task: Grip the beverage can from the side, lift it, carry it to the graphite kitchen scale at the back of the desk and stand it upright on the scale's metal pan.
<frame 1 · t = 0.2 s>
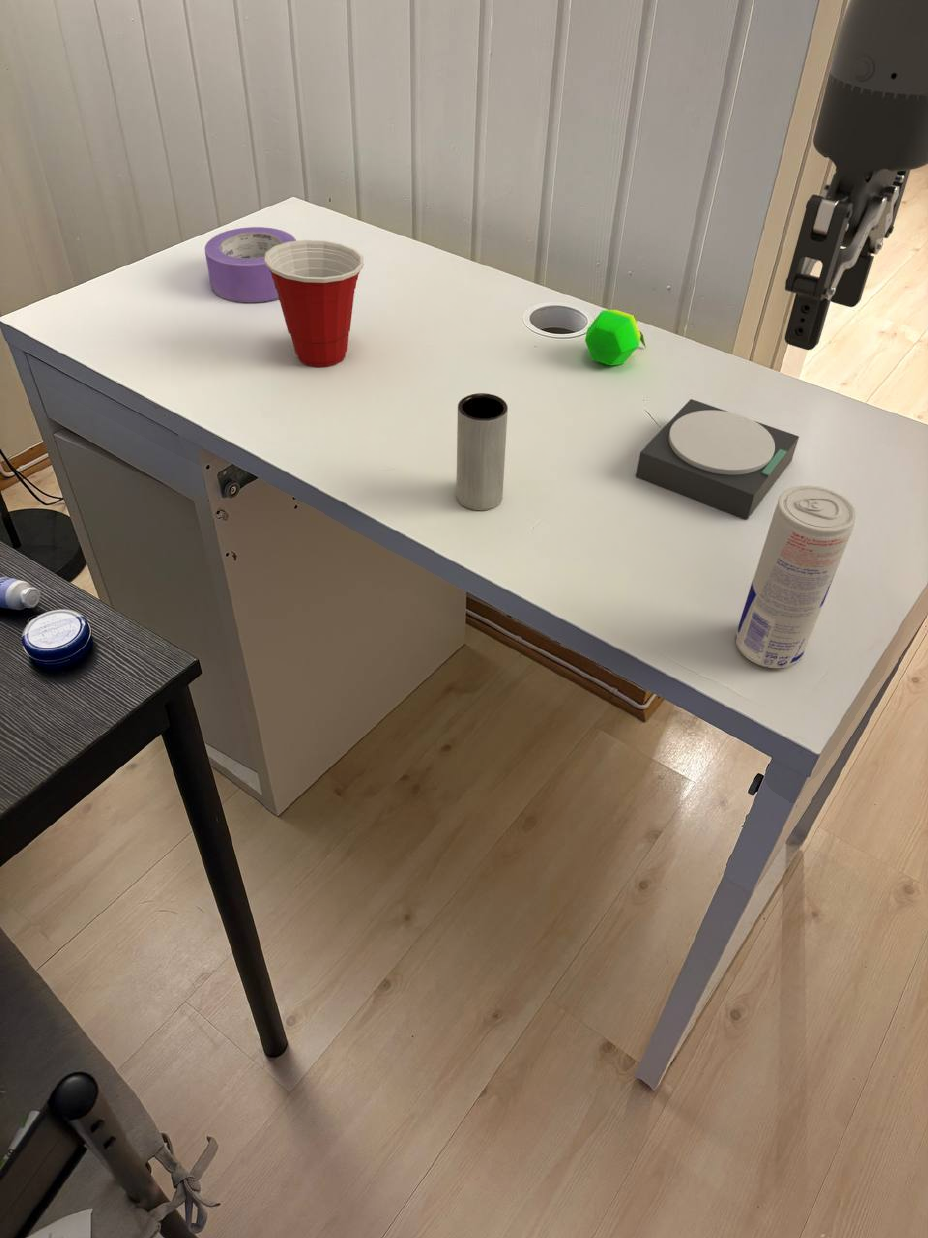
hand: (822, 323, 69), 25 cm above the table, tool pointing down, fingers open, 8 cm apart
grey cylindrical tube: (479, 498, 94), on the table
plastic cup: (323, 355, 113), on the table
tape roll: (256, 283, 125), on the table
apple: (613, 357, 114), on the table
beverage can: (767, 649, 80), on the table
scale: (714, 468, 98), on the table
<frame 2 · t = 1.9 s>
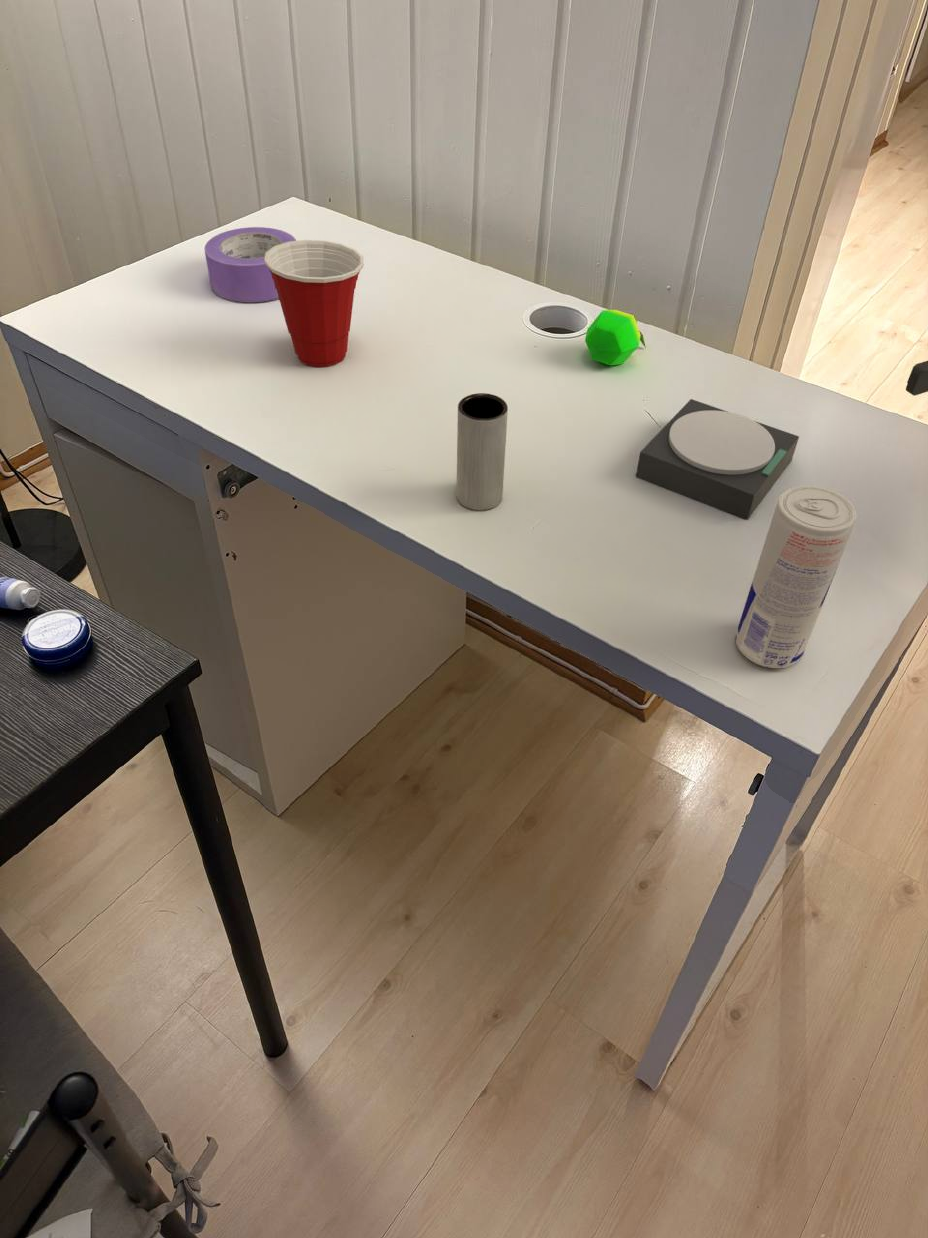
nothing on the table moved.
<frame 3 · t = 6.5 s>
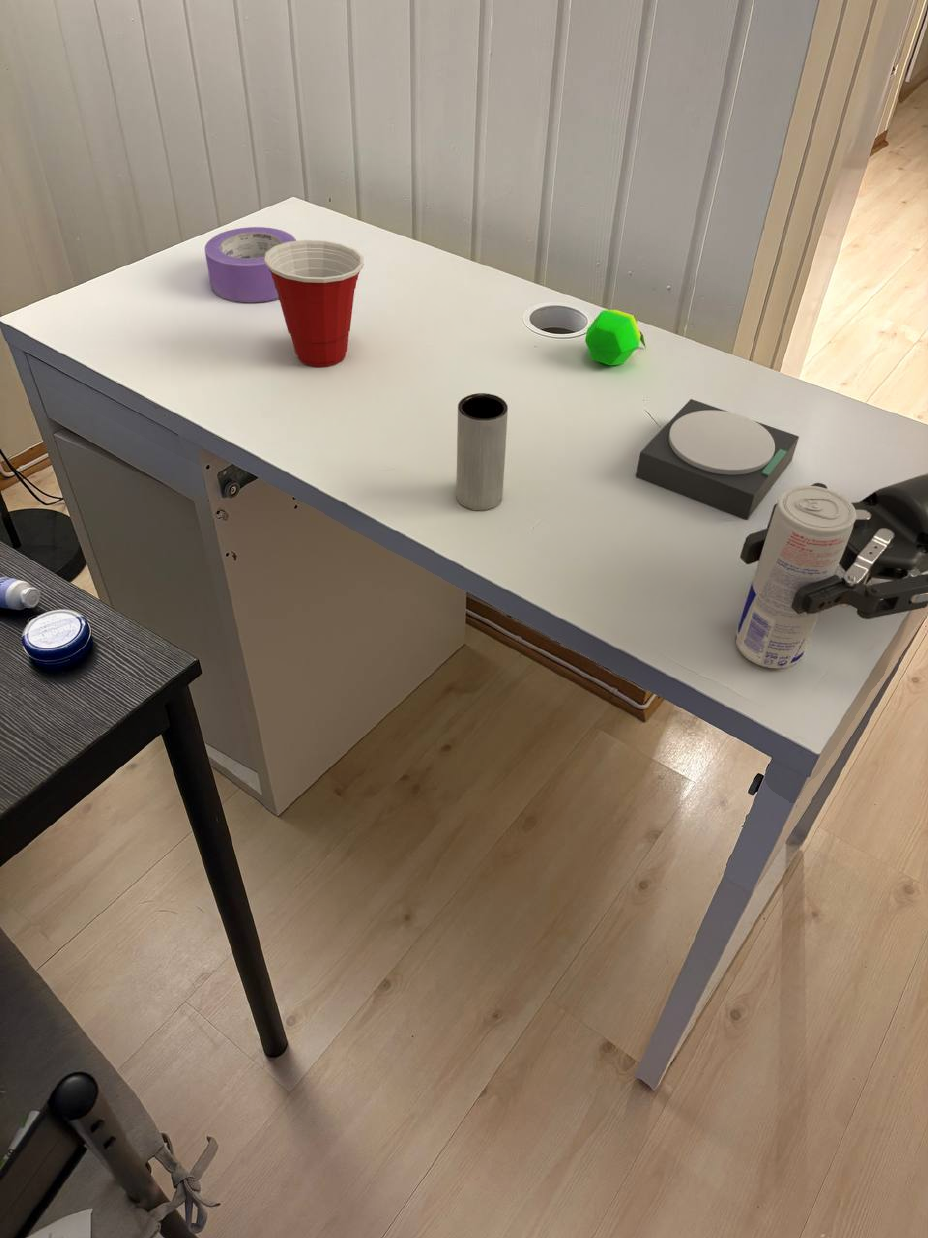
hand: (770, 576, 73), 9 cm above the table, tool horizontal, fingers closed on beverage can, 5 cm apart
beverage can: (767, 649, 80), on the table, touching gripper
everything else where it was.
when the fingers open (13 cm above the table, at t = 13.6 s): beverage can stays where it is, resting on scale.
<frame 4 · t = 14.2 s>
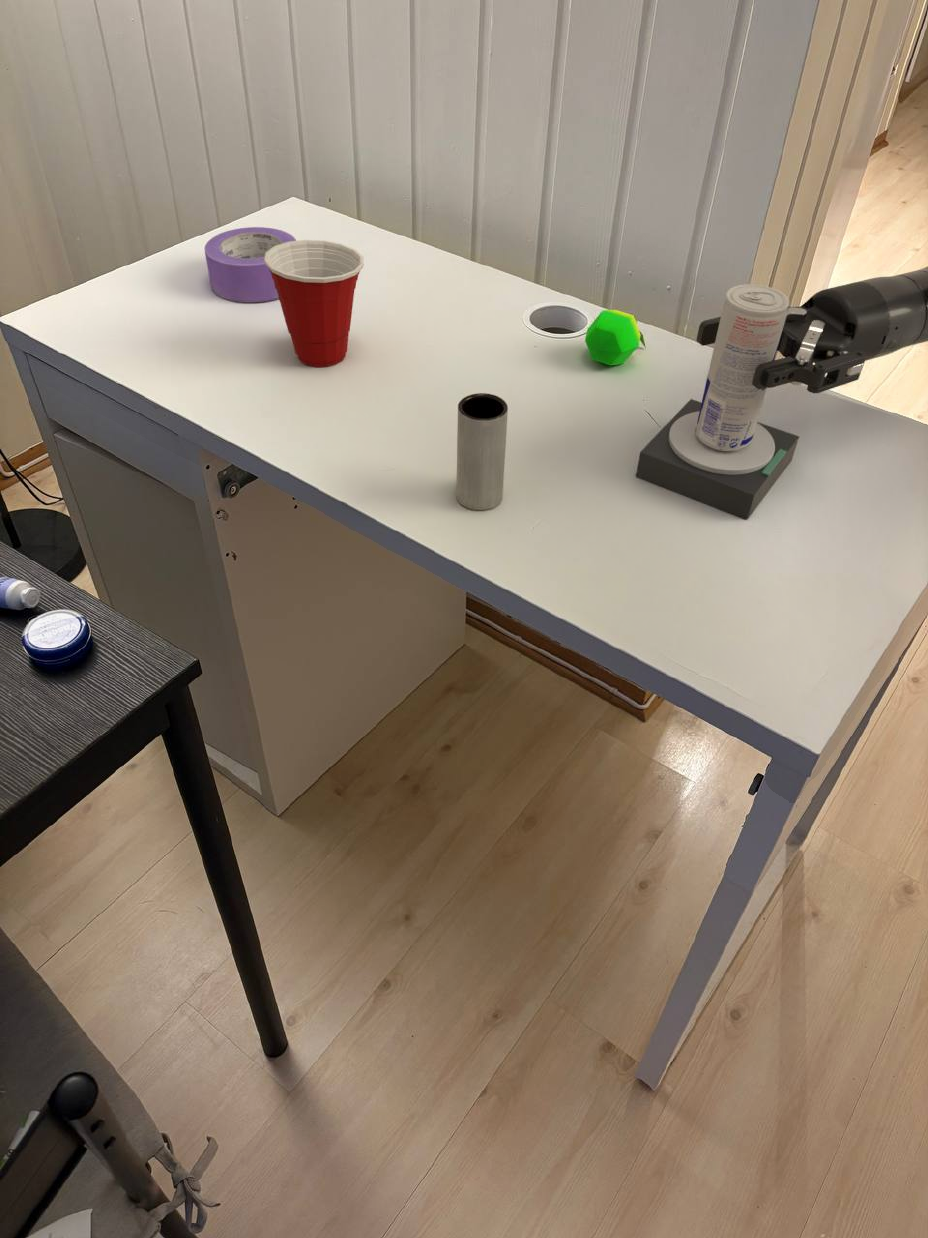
hand: (727, 355, 88), 13 cm above the table, tool horizontal, fingers open, 8 cm apart
beverage can: (722, 440, 95), point 3 cm above the table, touching scale
everything else where it was.
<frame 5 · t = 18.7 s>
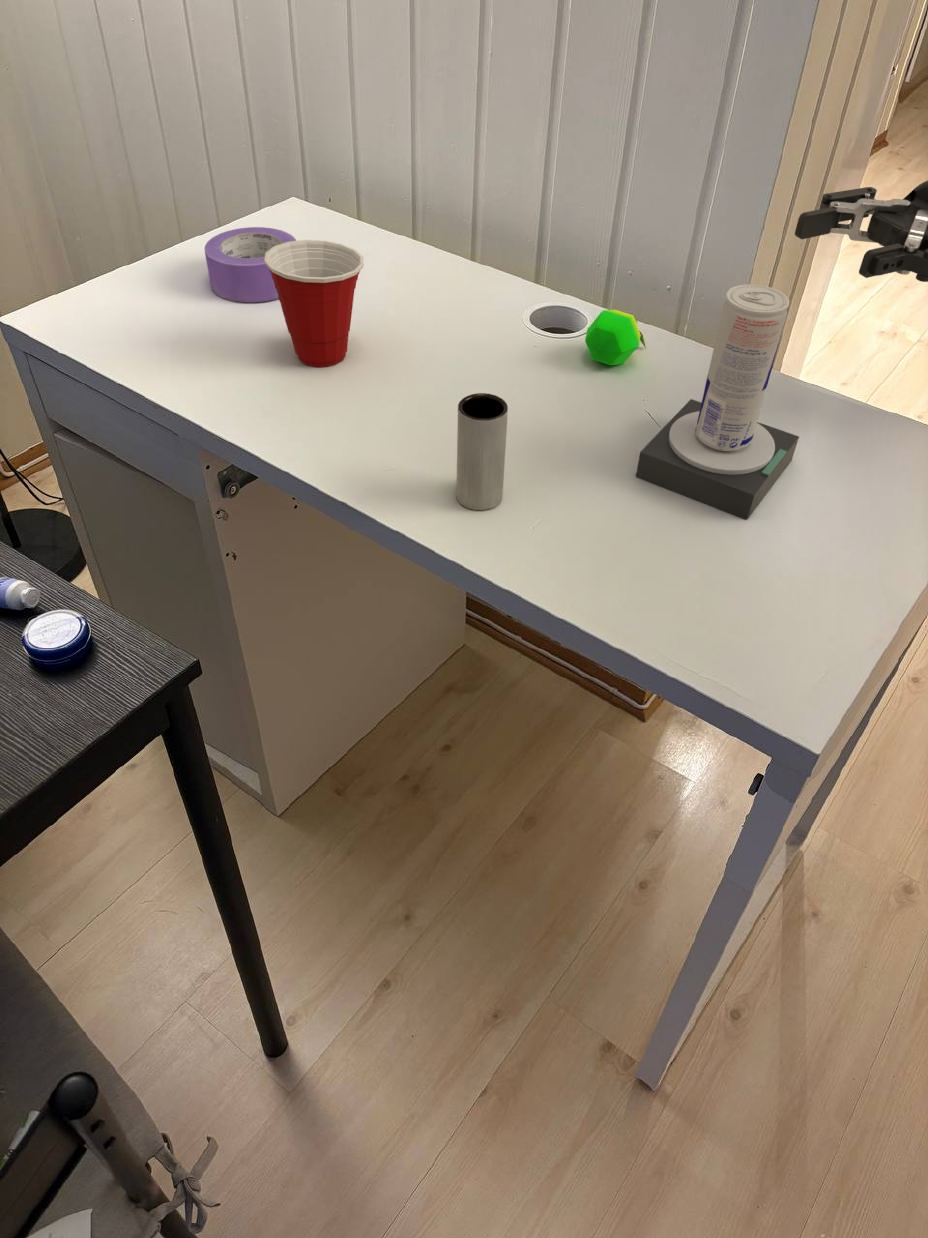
hand: (830, 245, 84), 22 cm above the table, tool horizontal, fingers open, 8 cm apart
nothing on the table moved.
at the end: beverage can inside the target area on the scale (0.1 cm from its centre), point 3.4 cm above the scale's base; beverage can tilted 0°; the gripper is holding nothing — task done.
